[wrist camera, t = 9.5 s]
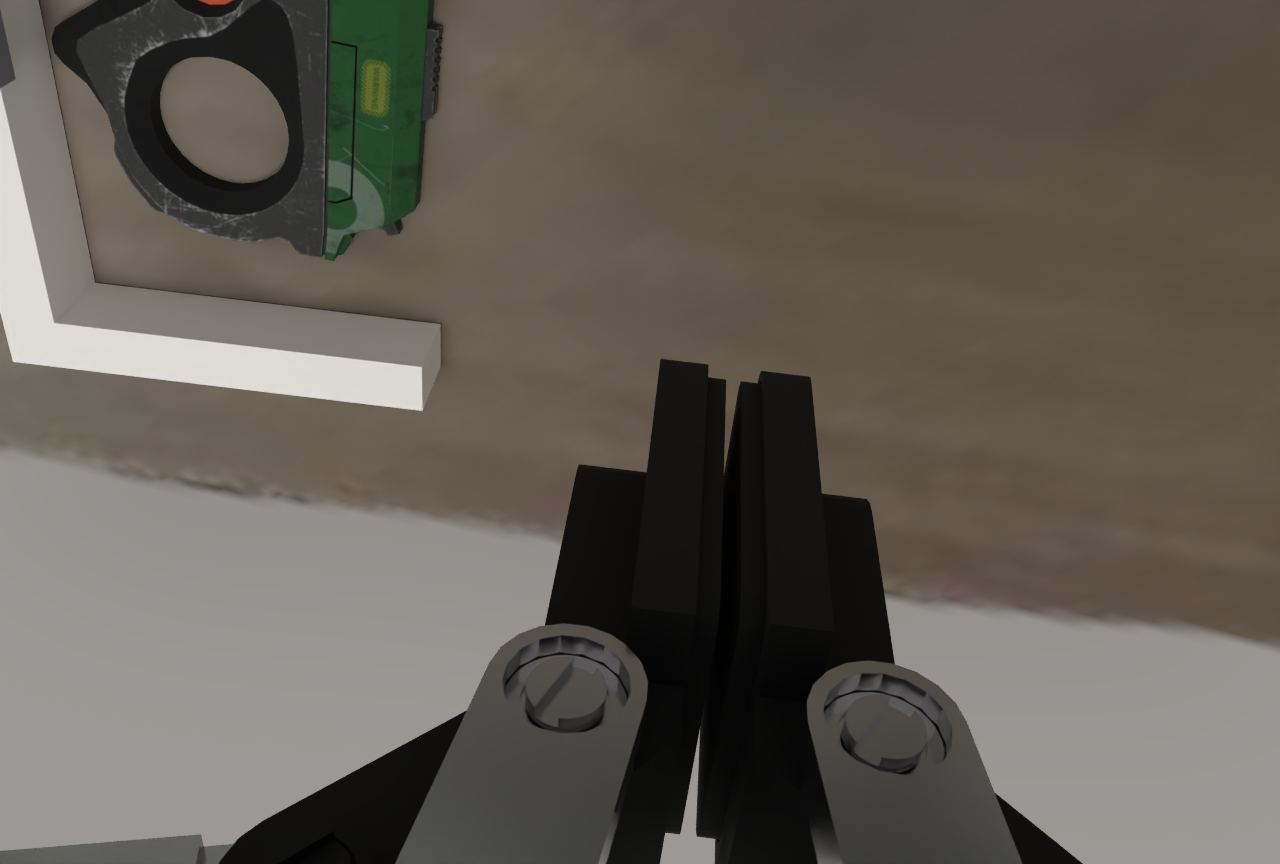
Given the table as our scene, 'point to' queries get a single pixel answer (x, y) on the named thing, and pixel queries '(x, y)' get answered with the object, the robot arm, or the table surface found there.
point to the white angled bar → (152, 319)
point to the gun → (306, 91)
